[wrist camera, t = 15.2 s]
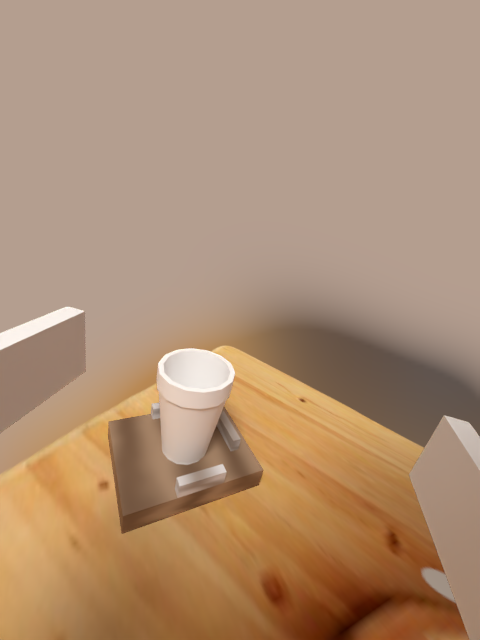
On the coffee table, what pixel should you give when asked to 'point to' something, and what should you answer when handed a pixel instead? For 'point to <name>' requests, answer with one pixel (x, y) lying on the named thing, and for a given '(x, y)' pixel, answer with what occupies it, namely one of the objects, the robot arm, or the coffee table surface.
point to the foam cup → (191, 401)
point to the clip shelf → (174, 470)
